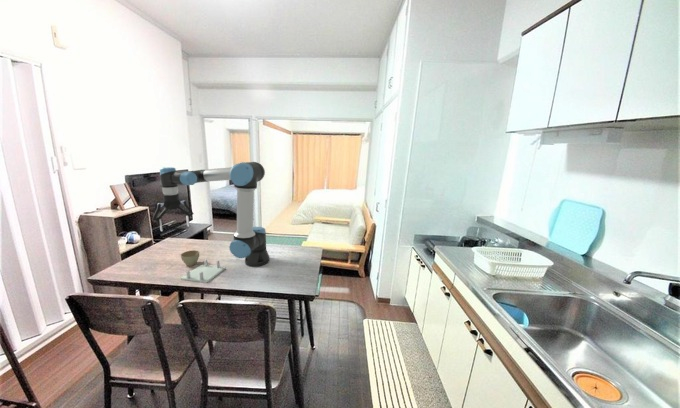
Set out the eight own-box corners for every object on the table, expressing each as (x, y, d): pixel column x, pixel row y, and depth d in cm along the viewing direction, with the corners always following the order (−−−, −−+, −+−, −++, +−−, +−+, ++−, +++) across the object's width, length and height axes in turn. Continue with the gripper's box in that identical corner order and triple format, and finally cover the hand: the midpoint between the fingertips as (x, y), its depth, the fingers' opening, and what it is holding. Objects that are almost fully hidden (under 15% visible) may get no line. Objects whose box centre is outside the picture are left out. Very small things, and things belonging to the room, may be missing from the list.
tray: (225, 268, 144) (224, 261, 143) (207, 282, 128) (206, 274, 127) (201, 266, 146) (201, 258, 145) (181, 279, 131) (180, 271, 130)
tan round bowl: (191, 268, 142) (190, 257, 141) (177, 266, 144) (176, 255, 143) (204, 261, 152) (203, 251, 150) (191, 259, 154) (189, 249, 152)
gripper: (193, 191, 150) (196, 223, 154) (142, 195, 133) (148, 231, 137) (196, 192, 145) (200, 225, 149) (144, 197, 128) (150, 234, 132)
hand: (175, 228), depth 143 cm, fingers open, 13 cm apart
